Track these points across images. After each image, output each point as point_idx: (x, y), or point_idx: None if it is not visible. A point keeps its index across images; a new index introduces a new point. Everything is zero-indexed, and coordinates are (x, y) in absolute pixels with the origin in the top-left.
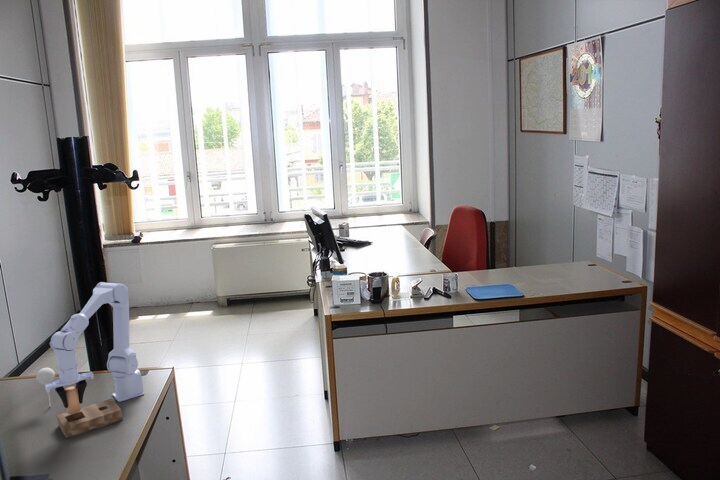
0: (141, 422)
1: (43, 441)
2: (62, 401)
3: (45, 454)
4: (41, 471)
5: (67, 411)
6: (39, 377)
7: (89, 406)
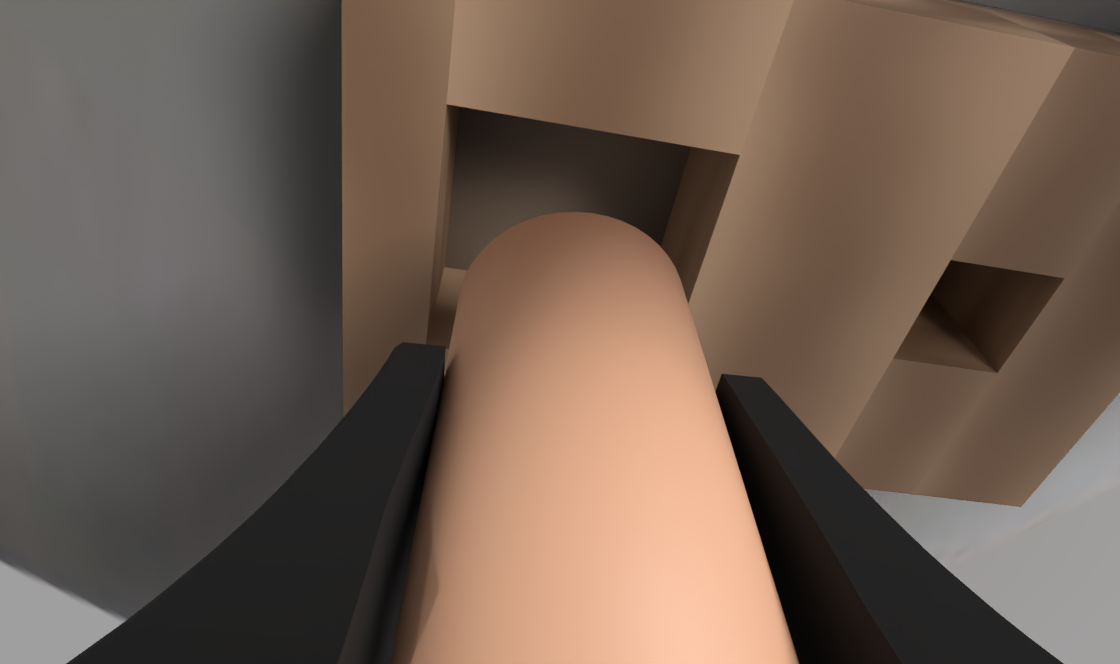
0: (982, 534)
1: (130, 179)
2: (351, 422)
3: (142, 433)
4: (105, 595)
5: (456, 311)
6: None
7: (942, 80)
